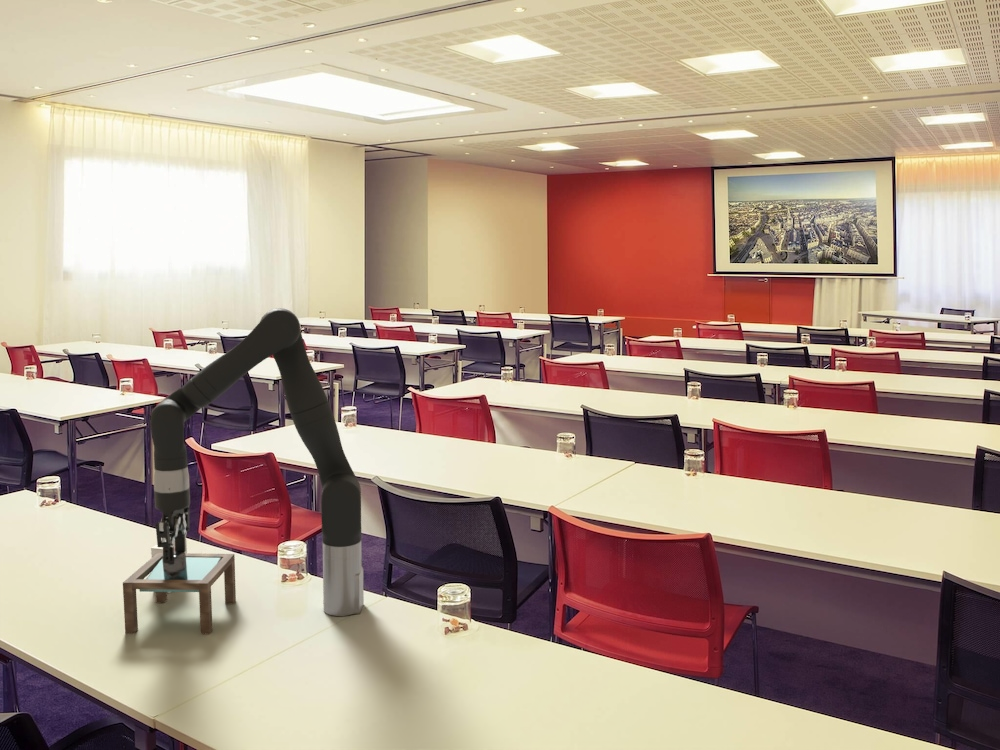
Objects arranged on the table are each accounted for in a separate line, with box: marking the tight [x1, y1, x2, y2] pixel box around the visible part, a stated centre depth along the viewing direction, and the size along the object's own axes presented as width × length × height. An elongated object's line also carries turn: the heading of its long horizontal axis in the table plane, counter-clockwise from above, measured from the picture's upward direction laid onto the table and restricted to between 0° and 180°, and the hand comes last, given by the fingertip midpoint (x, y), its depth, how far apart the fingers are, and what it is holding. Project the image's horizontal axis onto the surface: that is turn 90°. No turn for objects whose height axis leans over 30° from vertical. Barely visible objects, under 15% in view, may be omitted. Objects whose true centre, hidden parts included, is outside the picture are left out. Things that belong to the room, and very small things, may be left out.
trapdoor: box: [138, 557, 221, 593], centre depth 193 cm, size 14×14×1 cm
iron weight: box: [162, 551, 188, 580], centre depth 189 cm, size 5×5×6 cm
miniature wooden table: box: [122, 552, 237, 635], centre depth 194 cm, size 19×19×12 cm
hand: (174, 557), depth 189 cm, fingers open, 6 cm apart
